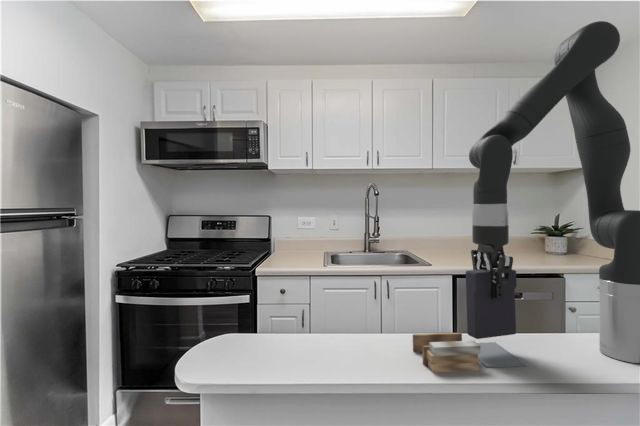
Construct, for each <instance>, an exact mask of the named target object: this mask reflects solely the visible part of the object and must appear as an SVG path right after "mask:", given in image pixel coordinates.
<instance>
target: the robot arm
mask: <svg viewBox="0 0 640 426" xmlns="http://www.w3.org/2000/svg"><path fill="white" fill-rule="evenodd" d="M620 43H621V35H620V31H619V30H618V28H617V26H616V25H614V24H613V23H611V22H608V21H604V20H600V21H594V22H591V23H589V24H586V25H585V26H583V27H581V28H579V29H578V30H576V32H574V33H573V34H571V35H570V36H569V37H567V38H566V39H565V40H563V41H562V42H561V43H560V44H559V45H558V46H557V48H556V50H555V52H554V65H555V66H553V67H552V69H551V70H550V71H549V72H547V73H546V74H545V75H544V76H543V77H542V78H541V79H539V80H538V81H537V82H536V83H535V84H534V85H533V86H532V87H530V88H529V89H528V90H527V91H526V92H524V94H522V95H521V96H520V97H519V98H518V99H517V100H516V101H515V102H514V104H512V106H511V107H509V109H507V111H506V112H505V113H504V114H503V115H502V116H501V118H500V119H499V120H498V121H497V122H496V123H495V124H494V125H493V126H492V127H491V128H489V129H488V130H487V131H486V132H484V134H483V135H481V137H479V138H478V140H476V141H475V142H474V144H473V145H472V146H471V148H470V149H469V153H468V160H469V162H470V164H471V165H472V166H473V167H474V168H476V169H479V173H478V178H477V180H476V181H475V182H474V184H473V187H472V188H473V189H472V191H473V193H472V195H473V196H472V197H473V205H472V206H473V207H472V215H471V218H472V219H471V220H472V223H471V224H472V231H471V232H472V242H473V243H472V244H475V245H477V249H471V251H470V254H471V263H472V270H483V269H487V271H488V272H489V273H491V281H492V299H493V300H502V299H503V283H506V282H510V277H511V271H512V270H513V265H514V264H513V263H514V257H513V256H507V255H505V251H504V246H507V245H508V244H509V243H510V242H509V241H510V239H509V237H510V236H509V229H510V228H509V227H510V226H509V224H510V223H509V209H508V188H507V187H508V186H507V185H508V182H509V177H510V173H511V168H512V164H513V157H514V154H513V146H514V145H515V144H517V143H518V142H520V141H522V140H524V139H525V138H526V137H528V135H530V134H531V132H533V130H534V129H535V128H536V127H537V126H538V125H539V124H540V123H541V121H543V119H544V118H546V117H547V115H548V114H549V113H550V112H551V111H552V110H553V109H554V108H555V106H557V105H558V103H560V102H561V101H562V100H563V99H564V98H565V99H566V102H567V106H568V111H569V114H570V119H571V122H572V126H573V133H574V139H575V143H576V149H577V152H578V157H579V161H580V165H581V170H582V175H583V180H584V184H585V186H584V187H585V191H586V196H587V197H586V198H587V208H588V221H589V229H590V233H591V235H592V238H593V240H594V241H595V242H596V243H597V244H598V245H599V246H601V247H604V248H607V249H609V250H610V249H611V250H613V251H614V252H613V258H612V261H611V262H609V263H606V264H602V265H601V266H600V267H599V269H598V270H599V271H598V272H599V273H598V275H599V276H598V288H599V289H598V290H599V291H598V292H599V293H598V297H599V299H598V301H599V304H598V305H599V307H598V308H599V311H598V312H599V313H598V314H599V321H598V322H599V323H598V324H599V326H598V327H599V330H598V331H599V336H598V337H599V351H600V353H602V354H604V355H606V356H608V357H610V358H611V359H615V360H618V361H622V362H627V363H633V364H640V210H635V209H633V210H632V209H626V208H625V207H624V203H623V199H622V194H621V193H622V192H621V186H622V185H621V183H622V180H623V177H624V173H625V171H626V169H627V166H628V163H629V160H630V156H631V142H630V137H629V132H628V129H627V124H626V122H625V119H624V117H623V115H621V114H620V112H619V111H618V110H617V109H616V108H615V107H614V105H612V104H611V103H610V102H609V101H608V100H607V99H606V97H604V95H603V93H602V92H601V90H600V88H599V86H598V84H599V83H598V80H597V76H596V69H598V68H599V67H600V66H602V65H603V64H605V63H606V62H607V61H608V60H610V59H611V58H612V57H613V56H614V55H615V53H616V52H617V50H618V49H619V46H620ZM497 268H498V269H497ZM495 273H497V275H496V276H495ZM504 273H505V277H504Z"/></svg>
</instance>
